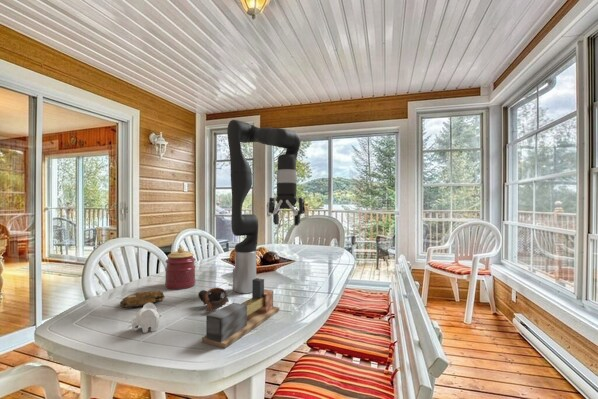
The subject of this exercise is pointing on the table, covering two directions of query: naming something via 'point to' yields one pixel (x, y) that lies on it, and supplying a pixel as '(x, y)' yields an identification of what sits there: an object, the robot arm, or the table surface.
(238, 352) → the table surface
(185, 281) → the canister
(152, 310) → the elephant figurine
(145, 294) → the decorative rock
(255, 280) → the olive bar with post
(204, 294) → the pottery mug
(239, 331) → the block assembly on base
